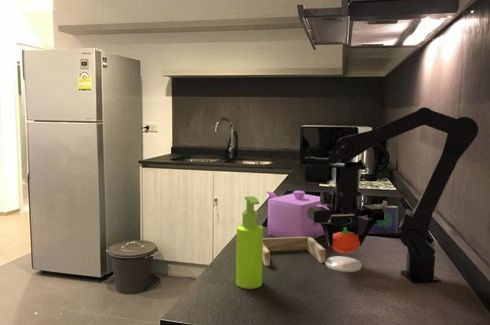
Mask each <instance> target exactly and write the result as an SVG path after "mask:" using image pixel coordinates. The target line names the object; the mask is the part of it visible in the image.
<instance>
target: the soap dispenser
mask: <svg viewBox="0 0 490 325" xmlns="http://www.w3.org/2000/svg"><path fill="white" fill-rule="evenodd" d="M244 200H245V201H246V205H245V206H246V209H245V210H243V211H242V214H241V215H242V221H241V222H242V224H240V225H237V227H236V249H235V250H236V253H235V255H236V256H235V258H236V259H235V266H236V267H235V271H236V272H235V284H236V286H238V287H239V288H242V289H249V290H250V289H257V288H259V287H261V286H262V285H263V262H262V252H263V238H264V227H263V226H262V225H259V224H258V221H259V220H258V214H259V212H258V211H256V210H255V205H260V201H259V199H258V198H256V197H254V196H244Z"/></svg>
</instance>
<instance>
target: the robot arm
mask: <svg viewBox="0 0 490 325" xmlns="http://www.w3.org/2000/svg"><path fill="white" fill-rule="evenodd" d="M422 126H427V127H428V128H429V127H430V128H431V129H435V130H438V131H439V132H443V133H445V136H444V140H443V145H442V149H441V153H440V155H439V156H438V157H439V158H438V160H437V162H436V164H435V165H434V166H435V167H434V168H433V169H432V170H433V171H432V172H431V175H430V177H429V178H428V181H427V183H426V185H425V188H424V189H423V191H422V194H421V196H420V198H419V200H418V202H417V204H416V206H415V207H414V208H413V209H412V211H411V210H410V209H408V208H406V210H405V213H404V217H403V218H402V220H401V221H399V225H398V230H399V233H400V234H399V238H400V241H401V243H402V244H403V246H405V247H407V252H406V264H405V265H406V266H405V268H406V269H405V270H400V273H401V275H403V276H404V277H406V278H407V279H408V280H410V281H412V282H413V283H416V284H419V283H433V282H435V283H436V282H440V280H441V279H440V278H439V277H437V276H436V275H435V266H436V255H435V254H436V240H435V239H434V238H433V237H431V235H430V234H429V231H430V226H431V221H432V217H433V214H434V211H435V209H436V207H437V205H438V203H439V201H440V199H441V196H442V195H443V192H444V190H445V189H446V187H447V184H448V182H449V180H450V178H451V176H452V174H453V172H454V169H455V168H456V165H457V163H458V162H459V160H460V159H461V157H463V155H464V154H465V152H466V151H468V148H470V146H471V145H472V143H473V142H474V140H475V139H476V137H478V134H479V125H478V123H477V122H476V121H475V120H474V119H472V118H471V117H468V116H458V117H452V116H450V115H447V114H445V113H440V112H437V111H435V110H432V109H431V108H429V107H425V106H424V107H420V108H418V109H417V110H415V111H413V112H410V113H409V114H406V115H403V116H402V117H399V118H396V119H395V120H392V121H390V122H388V123H385V124H383V125H380V126H378V127H375V128H372V129H371V130H367V131H363V132H358V133H355V134H354V133H353V134H350V135H346V136H343V137H340V138H339V139H337V141H336V143H335V147H334V151H333V152H332V153H331V155H329V157H328V158H325V157H323V158H322V157H316V156H309V157H308V158H307V163H306V168H305V171H304V178H305V179H304V181H305V182H306V183H307V184H314V185H327V186H328V185H330V182H333V181H335V187H333V190H332V194H331V193H330V192H329V191H321V192H320V193H319V194H320V196H319V197H320V203H321V204H327V208H329V210H328V209H326V208H324V207H323V206H322V207H310V208H309V209H308V211H307V217H308V218H309V219H310V220H312V221H313V222H315V223H319V224H320V225H321V226H322V228H323V230H324V233H325V235H324V236H325V240H326V243H327V245H328V247H329V248H331V249H332V243H333V234H334V223H333V222H332V221H331V220H332V218H333V219H334V218H351V217H352V218H357V223H358V228H357V229H358V230H357V236H358V237H359V241H360V246H359V247H361V246H362V244H363V243H364V241H365V239H366V237H367V236H368V234H370V233H369V231H370V230H371V228H372V227H373V225H374V224H377V223H378V221H376V220H385V211H384V209H383V208H380V207H378V206H379V205H378V206H376V205H377V204H376V205H374V204H363V205H361V206H359V197H361V196H362V191H361V190H360V173H361V171H360V170H367V169H368V168H369V165H368V164H366V163H365V161H364V160H363V158H360V159H359V160H358V161H350V160H353V159H354V158H357V157H358V156H359V155H361V154H363V153H365V152H366V151H368V150H370V148H372V147H374V146H376V145H378V144H381V143H383V142H384V141H385V142H386V141H388V140H390V139H392V138H395V137H397V136H399V135H402V134H405V133H407V132H410V131H412V130H415V129H416V128H420V127H422ZM343 160H345V163H344V164H337V163H340V162H341V161H343Z"/></svg>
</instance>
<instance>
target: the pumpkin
mask: <svg viewBox="0 0 490 325" xmlns="http://www.w3.org/2000/svg"><path fill="white" fill-rule="evenodd" d="M359 247H361V246H360V241H359V237H358V234H356V233H355V232H352V231H348V228H347V226H344V227H343V229H342V231H338V232H336V233H333V243H332V248H331V249H332V250H334V251H335V252H336V253H337V252H338V253H342V254H349V253H353V252H355V251H356V250H358V248H359Z"/></svg>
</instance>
